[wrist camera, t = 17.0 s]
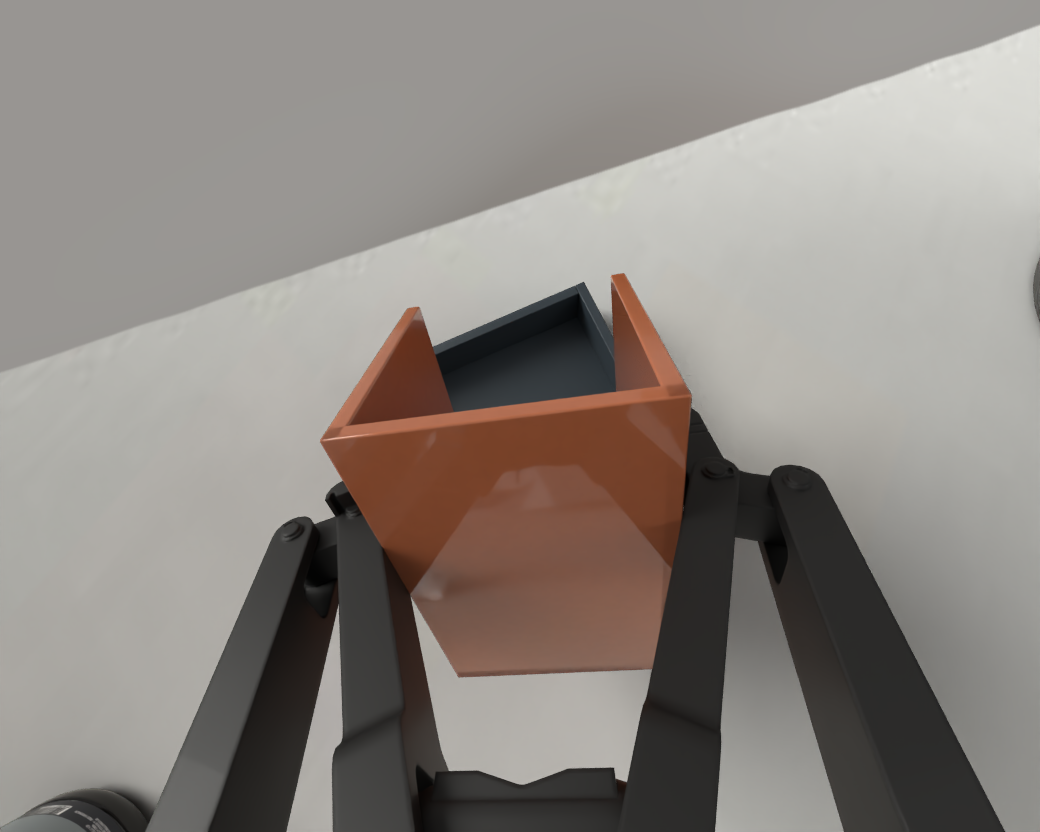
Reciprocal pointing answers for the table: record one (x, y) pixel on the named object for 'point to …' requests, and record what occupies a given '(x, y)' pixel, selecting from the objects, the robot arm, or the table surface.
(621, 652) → the orange open box
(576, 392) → the tray
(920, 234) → the table surface
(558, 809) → the robot arm
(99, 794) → the supplement container
